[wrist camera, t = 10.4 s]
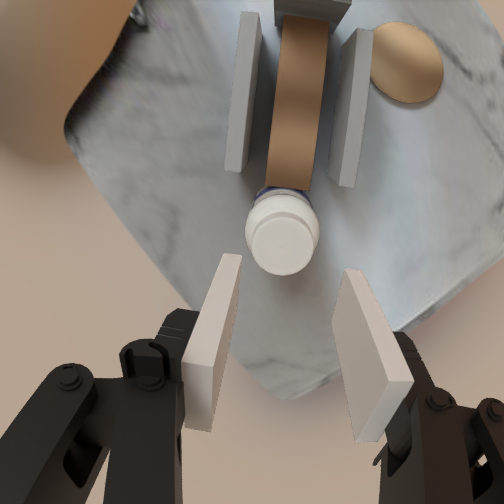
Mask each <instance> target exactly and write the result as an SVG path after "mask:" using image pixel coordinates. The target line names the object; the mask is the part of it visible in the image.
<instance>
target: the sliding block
mask: <svg viewBox="0 0 504 504" xmlns="http://www.w3.org/2000/svg"><path fill="white" fill-rule="evenodd" d="M351 2H352V0H274V16H275V26H277V27H283V30H282V39H281V48H280V57H279V65H278V74H277V83H276V92H275V100H274V109H273V118H272V126H271V135H270V143H269V152H268V160H267V169H266V177H265V185H268V186H276V187H284V188H291V189H299V190H306V191H309V189H310V183H311V176H312V169H313V162H314V155H315V148H316V140H317V133H318V125H319V117H320V109H321V101H322V92H323V84H324V75H325V65H326V56H327V45H328V35H329V34H331V35H332V34H333V32H334V31H335V29H336V28H337V26H338V24H339V23H340V21H341V20H342V18H343V17H344V15H345V13H346V12H347V10H348V9H349V7H350V6H351Z"/></svg>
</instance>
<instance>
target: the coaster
mask: <svg viewBox="0 0 504 504" xmlns="http://www.w3.org/2000/svg"><path fill="white" fill-rule="evenodd" d="M373 32H374V33H373V47H372V60H371V71H370V78H371V79H372V81H373V82H374V84H375V85H376V86H377V87H378V88H379V89H380V90H381V91H382V92H383V93H385V94H386V95H388V96H389V97H391V98H393V99H395V100H398V101H401V102H406V103H416V102H421V101H425V100H427V99H429V98H431V97H432V96H433V95H434V94H435V93H436V92H437V91H438V89H439V88H440V85H441V83H442V80H443V62H442V58H441V56H440V53H439V51H438V49H437V47H436V46H435V44H434V43H433V41H432V40H431V39H430V38H429V37H428V36H427V35H426V34H425V33H424V32H422V31H421V30H419V29H418V28H416V27H414V26H412V25H409V24H406V23H402V22H389V23H385V24H382V25H380V26H378V27H377V28H376V29H374V30H373Z"/></svg>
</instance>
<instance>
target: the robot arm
mask: <svg viewBox="0 0 504 504" xmlns="http://www.w3.org/2000/svg"><path fill="white" fill-rule="evenodd" d="M241 262H242V255H235V254H227V253H223V256H222V258H221V261H220V263H219V266H218V268H217V271H216V273H215V276H214V278H213V281H212V283H211V286H210V288H209V291H208V293H207V296H206V298H205V301H204V303H203V306H202V309H201V311H200V312H198V311H192V310H185V309H179V308H177V309H176V310H174V311H173V312H171V313H170V314H169V315H167V316H166V318H165V320H164V322H163V324H162V327H161V328H160V330H159V332H158V335H156V337H155V339H139V340H136V341H133V342H130V343H128V344H127V345H126V346H124V347H123V348H122V350H121V352H120V353H119V357H120V362H121V367H122V372H123V377H121V378H94V377H93V374H92V373H91V372H90V370H89V369H88V368H87V367H85V366H83V365H81V364H75V363H69V364H63V365H61V366H58V367H56V368H55V369H54V370H52V371H51V372H50V373H49V374H48V375H47V377H46V378H45V379H44V381H43V382H42V383H41V384H40V386H39V387H38V388H37V390H36V391H35V392H34V394H33V395H32V396H31V397H30V399H29V400H28V401H27V403H26V404H25V406H24V407H23V408H22V409H21V411H20V412H19V414H18V415H17V416H16V418H15V419H14V420H13V422H12V423H11V425H10V426H9V427H8V429H7V430H6V432H5V433H4V434H3V436H2V437H1V439H0V504H85V502H86V500H87V498H88V496H89V494H90V491H91V489H92V487H93V485H94V483H95V480H96V478H97V476H98V474H99V472H100V470H101V468H102V465H103V463H104V461H105V459H106V457H107V455H108V453H109V451H110V456H109V462H108V469H107V476H106V484H105V492H104V501H103V504H183V500H182V499H183V498H182V456H181V455H182V450H181V429H182V425H183V422H184V423H185V428H190V429H195V430H201V431H206V432H211V429H212V424H213V419H214V414H215V410H216V405H217V400H218V396H219V391H220V387H221V382H222V377H223V372H224V368H225V363H226V358H227V354H228V349H229V344H230V340H231V335H232V330H233V326H234V321H235V317H236V312H237V302H238V292H239V282H240V272H241ZM331 326H332V330H333V335H334V339H335V344H336V348H337V353H338V357H339V362H340V367H341V372H342V376H343V381H344V386H345V391H346V397H347V402H348V407H349V412H350V418H351V422H352V428H353V434H354V440H355V443H356V442H357V443H359V442H360V443H361V442H378V440H379V439H380V437H381V436H382V434H383V433H384V431H385V433H386V437H387V443H386V444H385V446H384V447H383V448H382V450H381V451H380V453H379V454H378V455H377V457H376V458H375V459H374V462H373V465H374V466H376V465H377V463H378V462H379V460H380V459H381V458H382V459H381V479H380V480H381V481H380V493H379V504H504V404H503V403H502V402H501V401H499V400H497V399H494V398H486V399H483V400H482V401H481V402H480V404H479V405H478V407H477V408H476V409H474V408H468V407H463V406H458V405H457V404H456V401H455V399H454V398H453V397H452V396H451V394H450V393H449V392H447V391H445V390H443V389H442V388H438V387H435V385H434V383H433V381H432V379H431V377H430V375H429V373H428V371H427V369H426V367H425V365H424V363H423V361H421V357H420V355H419V353H417V349H416V347H415V345H414V343H413V341H412V340H411V339H410V338H409V337H408V336H407V335H406V334H405V333H404V332H394V331H392V330H391V328H390V326H389V324H388V322H387V319H386V317H385V315H384V313H383V311H382V309H381V307H380V305H379V303H378V301H377V299H376V297H375V295H374V293H373V291H372V289H371V287H370V285H369V283H368V281H367V279H366V278H365V276H364V274H363V272H362V270H354V269H346V268H345V270H344V274H343V278H342V282H341V286H340V290H339V294H338V298H337V301H336V305H335V309H334V313H333V316H332V320H331ZM484 454H485V456H486V458H487V462H486V463H485V464H484V465H483V466H482V465H480V464H479V462H478V460H479V459H480V458H481V457H482V456H483V455H484Z"/></svg>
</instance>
